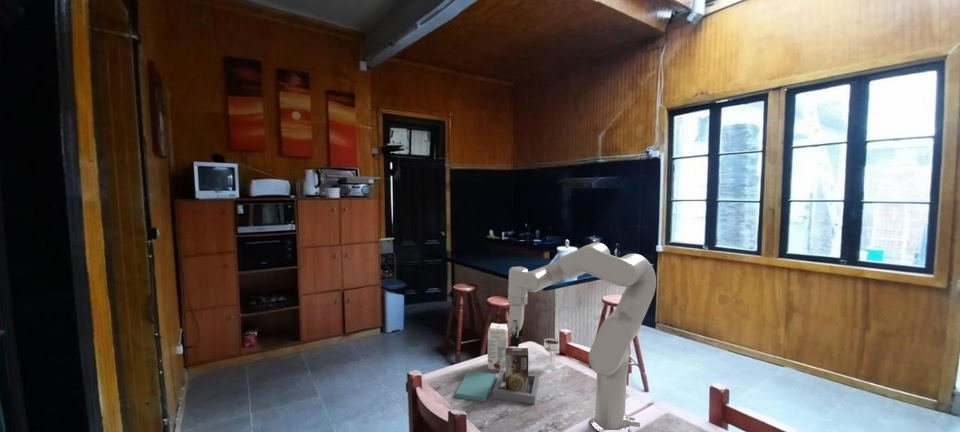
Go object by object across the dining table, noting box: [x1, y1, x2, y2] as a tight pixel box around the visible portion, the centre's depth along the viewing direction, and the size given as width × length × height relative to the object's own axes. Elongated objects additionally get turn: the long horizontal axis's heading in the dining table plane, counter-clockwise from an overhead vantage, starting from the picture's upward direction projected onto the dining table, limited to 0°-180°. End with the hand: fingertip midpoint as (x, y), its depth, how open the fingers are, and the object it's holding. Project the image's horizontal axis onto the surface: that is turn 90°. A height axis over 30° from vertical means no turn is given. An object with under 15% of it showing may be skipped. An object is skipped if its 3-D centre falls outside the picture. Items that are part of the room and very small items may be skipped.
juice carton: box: [487, 322, 509, 372], centre depth 169 cm, size 8×9×19 cm
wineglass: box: [543, 337, 560, 370], centre depth 170 cm, size 7×7×12 cm
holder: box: [492, 370, 540, 405], centre depth 152 cm, size 16×16×3 cm
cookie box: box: [504, 347, 529, 393], centre depth 151 cm, size 9×6×16 cm
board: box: [454, 370, 497, 402], centre depth 154 cm, size 12×18×2 cm, turn 166°
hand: (516, 341), depth 151 cm, fingers open, 9 cm apart
